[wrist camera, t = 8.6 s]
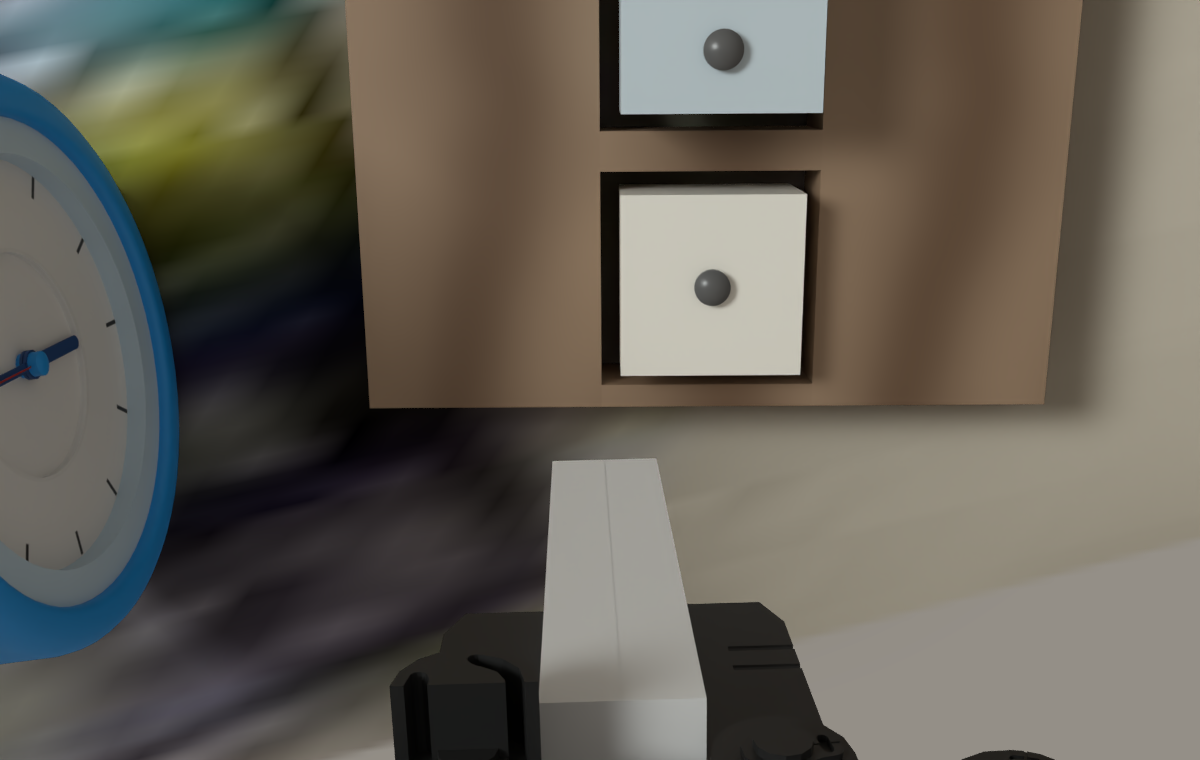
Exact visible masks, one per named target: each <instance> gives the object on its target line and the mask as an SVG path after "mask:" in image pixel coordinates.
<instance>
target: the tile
mask: <svg viewBox="0 0 1200 760" xmlns="http://www.w3.org/2000/svg"><path fill="white" fill-rule="evenodd" d="M806 211H807V194H806V193H804V192H803V191H801V190H799V189H798V188H796V187H794V186H793V185H791V184H789V183H764V184H619V353H620V371H621V376H698V375H800V365H801V340H802V314H803V288H804V262H805V237H806Z"/></svg>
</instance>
